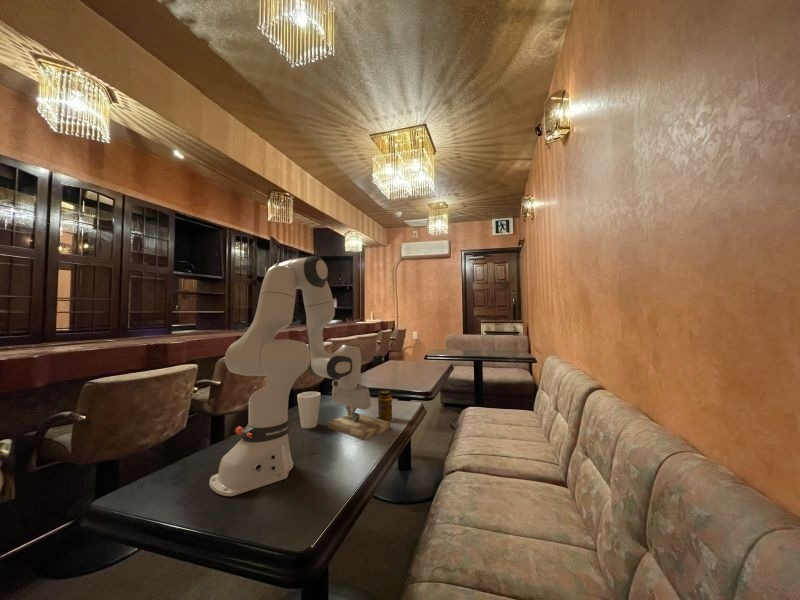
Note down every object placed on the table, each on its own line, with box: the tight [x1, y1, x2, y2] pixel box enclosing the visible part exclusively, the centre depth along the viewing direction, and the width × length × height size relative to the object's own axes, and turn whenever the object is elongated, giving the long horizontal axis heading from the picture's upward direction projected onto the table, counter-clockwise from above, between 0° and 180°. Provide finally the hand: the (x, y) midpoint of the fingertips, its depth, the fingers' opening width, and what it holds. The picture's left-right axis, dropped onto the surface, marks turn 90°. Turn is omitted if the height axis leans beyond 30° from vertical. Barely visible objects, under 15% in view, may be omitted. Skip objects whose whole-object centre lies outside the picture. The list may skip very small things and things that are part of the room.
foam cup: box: [296, 391, 322, 430], centre depth 137 cm, size 10×9×13 cm
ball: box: [352, 412, 360, 421], centre depth 135 cm, size 3×3×3 cm
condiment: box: [376, 390, 396, 422], centre depth 144 cm, size 7×8×12 cm
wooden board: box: [327, 412, 392, 441], centre depth 133 cm, size 15×21×2 cm
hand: (351, 416), depth 136 cm, fingers closed
